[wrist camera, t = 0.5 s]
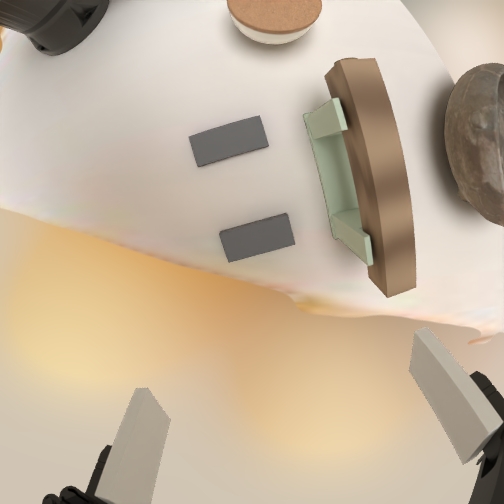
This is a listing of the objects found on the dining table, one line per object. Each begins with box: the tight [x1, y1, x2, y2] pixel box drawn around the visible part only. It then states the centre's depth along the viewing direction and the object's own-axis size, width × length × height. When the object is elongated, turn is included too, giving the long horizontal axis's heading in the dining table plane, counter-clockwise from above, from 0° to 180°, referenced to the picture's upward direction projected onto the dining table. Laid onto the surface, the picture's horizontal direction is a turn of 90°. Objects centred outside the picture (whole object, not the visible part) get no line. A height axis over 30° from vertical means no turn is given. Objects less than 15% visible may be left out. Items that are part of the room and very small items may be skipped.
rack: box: [303, 98, 373, 266], centre depth 28 cm, size 17×6×12 cm, turn 16°
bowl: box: [444, 63, 504, 227], centre depth 24 cm, size 24×24×15 cm
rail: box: [324, 58, 416, 298], centre depth 23 cm, size 23×4×5 cm, turn 16°
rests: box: [189, 115, 295, 262], centre depth 34 cm, size 17×9×2 cm, turn 16°
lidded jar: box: [227, 0, 322, 44], centre depth 22 cm, size 11×11×9 cm
